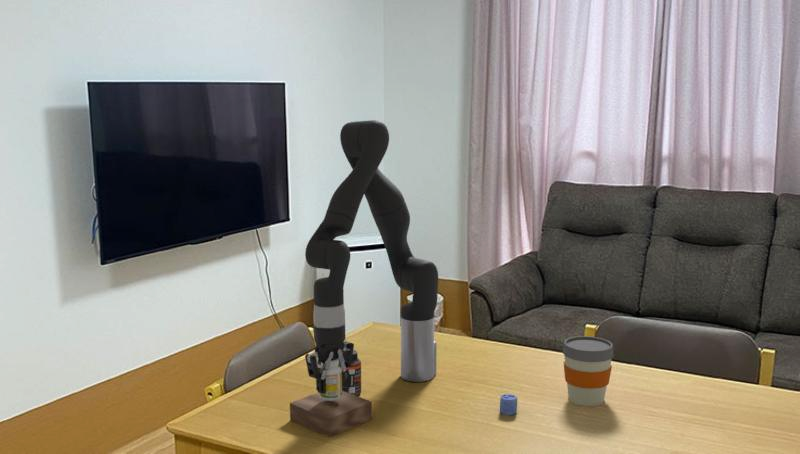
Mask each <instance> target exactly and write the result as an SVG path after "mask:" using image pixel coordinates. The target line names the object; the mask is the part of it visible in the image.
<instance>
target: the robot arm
mask: <svg viewBox="0 0 800 454" xmlns="http://www.w3.org/2000/svg"><path fill="white" fill-rule="evenodd" d="M389 133H390V131H389V130H388V126H386V124H385V123H384V122H382V121H380V120H375V119H373V120H372V119H369V120H358V121H350V122H346V123H345V124H344V125H343V126H342V127H341V130H340V135H339V138H340V139H339V140H340V145H341V149H342V152H343V153H344V155H345V158H346V160H347V162H348V163H349V165H350V167H351V169H352V171H351V172H350V173H349V174H348V175H347V177H345V179H344V180H343V181H342V182H341V183H340V184H339V185H338V187H337V189H336V190H334V193H333V194H332V196H331V198H330V201H329V203H328V207H327V209H326V212H325V215H324V218H323V219H322V222H321V223H320V224H319V225H318V227H317V228H316V230H315V231H314V233H313V234H312V236H311V237H310V239H309V240H308V243H306V244H307V245H306V248H305V252H304V253H305V255H304V256H305V261H306V263H307V264H308V266H310V267H311V268H314V269H324V270H329V275H328V276H327V277H326V276H324V277H321V278H318V279H316V280H315V281H314V283H313V311H312V312H313V314H312V318H313V320H312V321H313V341H314V343H315V349H314V351H313V352H312V353H306V354H305V356H304V358H305V363H306V369H307V373H308V377H309V378H313V379H315V386H316V388H315V389H316V391H317V393H318V392H319V393H321V394H324V393H326V379H324V378H325V375H326V371H327V370H328V369H329V366H330V362H331V361H333V360H336V359H339V365H338V366H340V367H341V369H342V386H344V383H345V371H346V368H348V367H351V364H352V356H353V350H355V349H354V346H355V344H354V343H353V342H351V341H347V340H346V311H345V301H344V299H345V296H344V294H345V293H344V285H345V281H346V276H347V273H348V268H349V265H350V262H351V261H350V260H351V251H350V247H349V246H348V244H347V243H346V242H345V241H344V240H339V239H336V238H337V237H342V236H346V235H349V234H350V233H351V231H352V230H353V227H354V223H355V220H356V218H357V214H358V213H359V212H358V211H359V208H360V205H361V202H362V200H363V198H364V197H365V199H366V202H367V204H368V206H369V210H370V213H371V216H372V218H373V220H374V222H375V225H376V227H377V229H378V231H379V235H380V236H381V240H382V243H383V245H384V248H385V250H386V254H387V258H388V261H389V265H390V269H391V272H392V276H393V279H394V281H395V283H396V284H397V286H398V287H399V288H400V289H401V290H404V291H405V292H409V293H412V300H411V302H407V303H405V304H403V305H401V307H400V377H401V378H402V379H403V380H405V381H408V382H412V383H415V382H416V383H420V382H421V383H423V382H428V381H430V380H432V379H434V377H435V376H436V375H437V342H436V340H435V312H436V307H437V305H438V294H439V293H438V292H439V291H438V289H439V272H438V268H437V266H436V264H435V263H434V262H433V261H430V260H426V259H421V258H417V257H415V256H414V255H413V253H412V251H411V248H410V246H409V242H408V233H409V229H410V224H411V215H410V211H409V209H408V206H407V203H406V200H405V198H404V195H403V194H402V192H401V191H400V189H399V188H398V187H397V186H396V185H395V184H394V183H393V182H392V181H391V180H390V179H389V178H388V177H387V176H386V174H384V173H383V172H381V170H380V169H379V166H380V164H381V162H382V161H383V159H384V156H385V155H386V153H387V150H388V147H389V144H390V134H389ZM346 359H347V361H346ZM322 363H324V364H325V365H322ZM321 369H322V371H321ZM320 371H321V373H320Z"/></svg>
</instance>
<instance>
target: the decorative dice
mask: <svg viewBox="0 0 800 454" xmlns="http://www.w3.org/2000/svg"><path fill="white" fill-rule="evenodd" d="M517 411H518V397H517V395H514V394H511V393H503V394H502V395H500V398H499V412H500V413H501V414H502V415H505V416H514V415H516V414H517V413H518V412H517Z"/></svg>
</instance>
